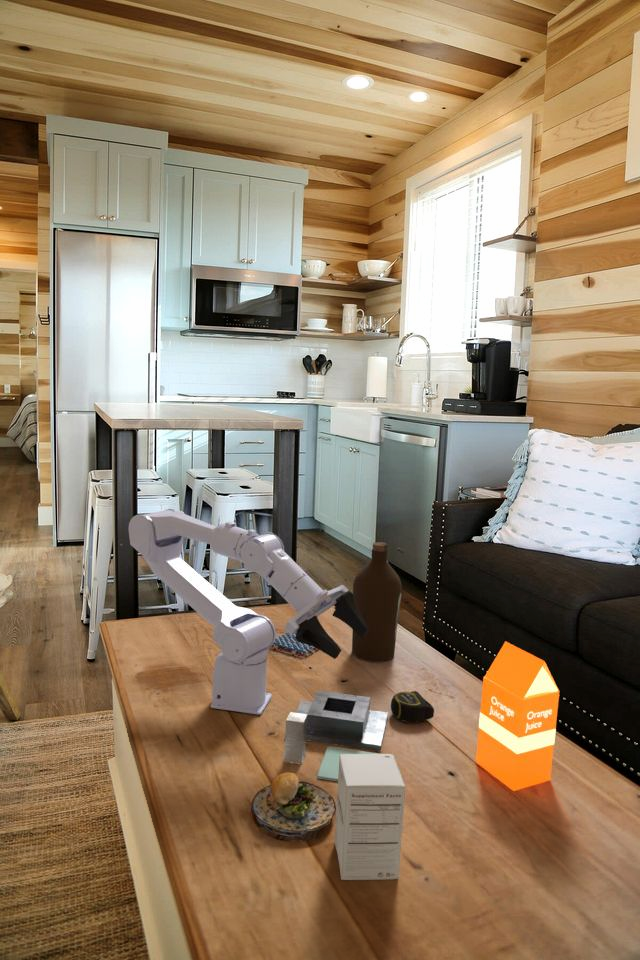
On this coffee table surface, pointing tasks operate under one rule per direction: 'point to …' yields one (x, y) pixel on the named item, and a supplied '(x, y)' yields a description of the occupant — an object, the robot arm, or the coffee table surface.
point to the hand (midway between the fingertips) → (352, 644)
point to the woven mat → (292, 646)
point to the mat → (334, 762)
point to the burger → (291, 809)
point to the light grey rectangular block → (295, 737)
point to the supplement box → (369, 816)
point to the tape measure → (411, 707)
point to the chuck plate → (351, 742)
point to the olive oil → (377, 607)
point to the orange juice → (517, 719)
